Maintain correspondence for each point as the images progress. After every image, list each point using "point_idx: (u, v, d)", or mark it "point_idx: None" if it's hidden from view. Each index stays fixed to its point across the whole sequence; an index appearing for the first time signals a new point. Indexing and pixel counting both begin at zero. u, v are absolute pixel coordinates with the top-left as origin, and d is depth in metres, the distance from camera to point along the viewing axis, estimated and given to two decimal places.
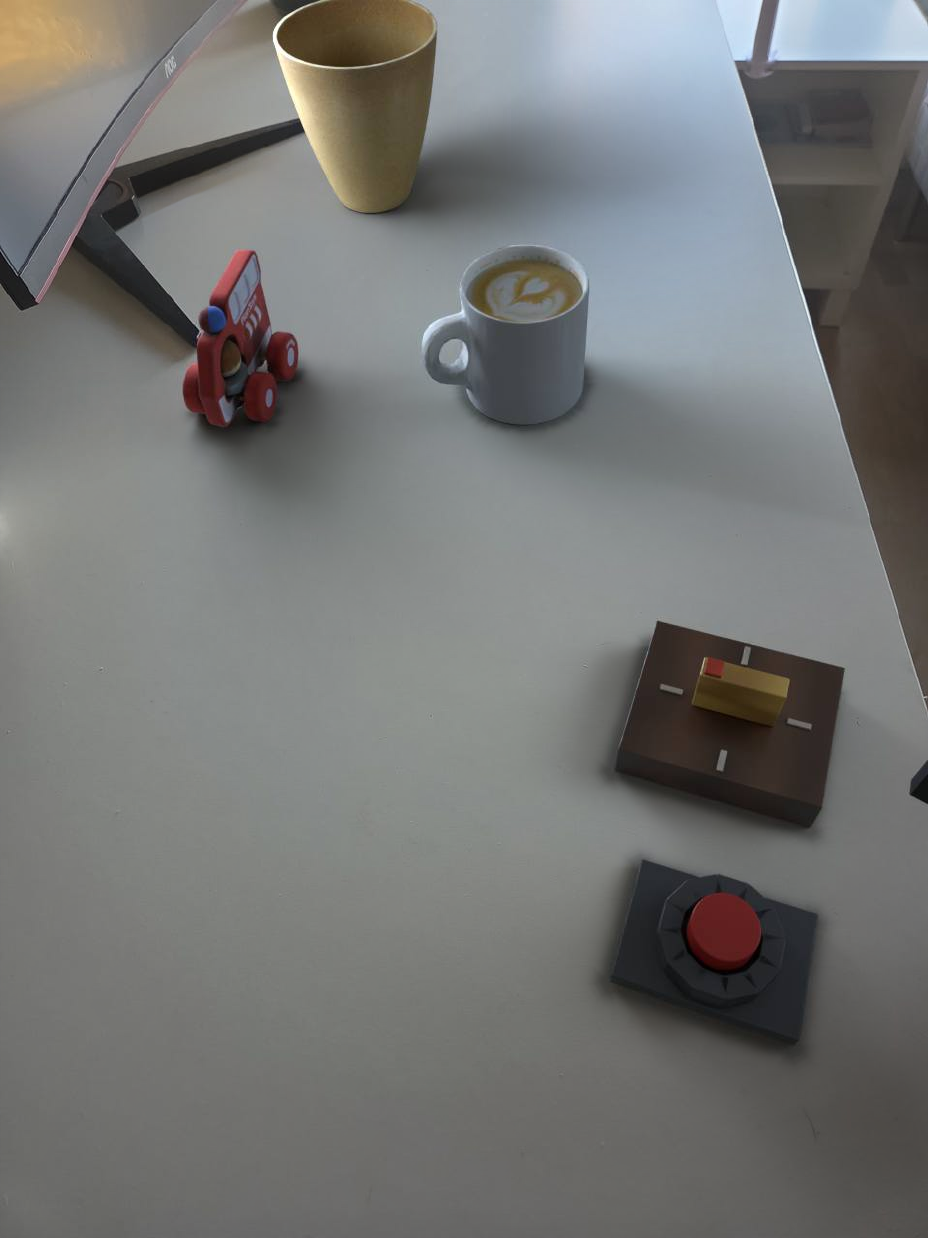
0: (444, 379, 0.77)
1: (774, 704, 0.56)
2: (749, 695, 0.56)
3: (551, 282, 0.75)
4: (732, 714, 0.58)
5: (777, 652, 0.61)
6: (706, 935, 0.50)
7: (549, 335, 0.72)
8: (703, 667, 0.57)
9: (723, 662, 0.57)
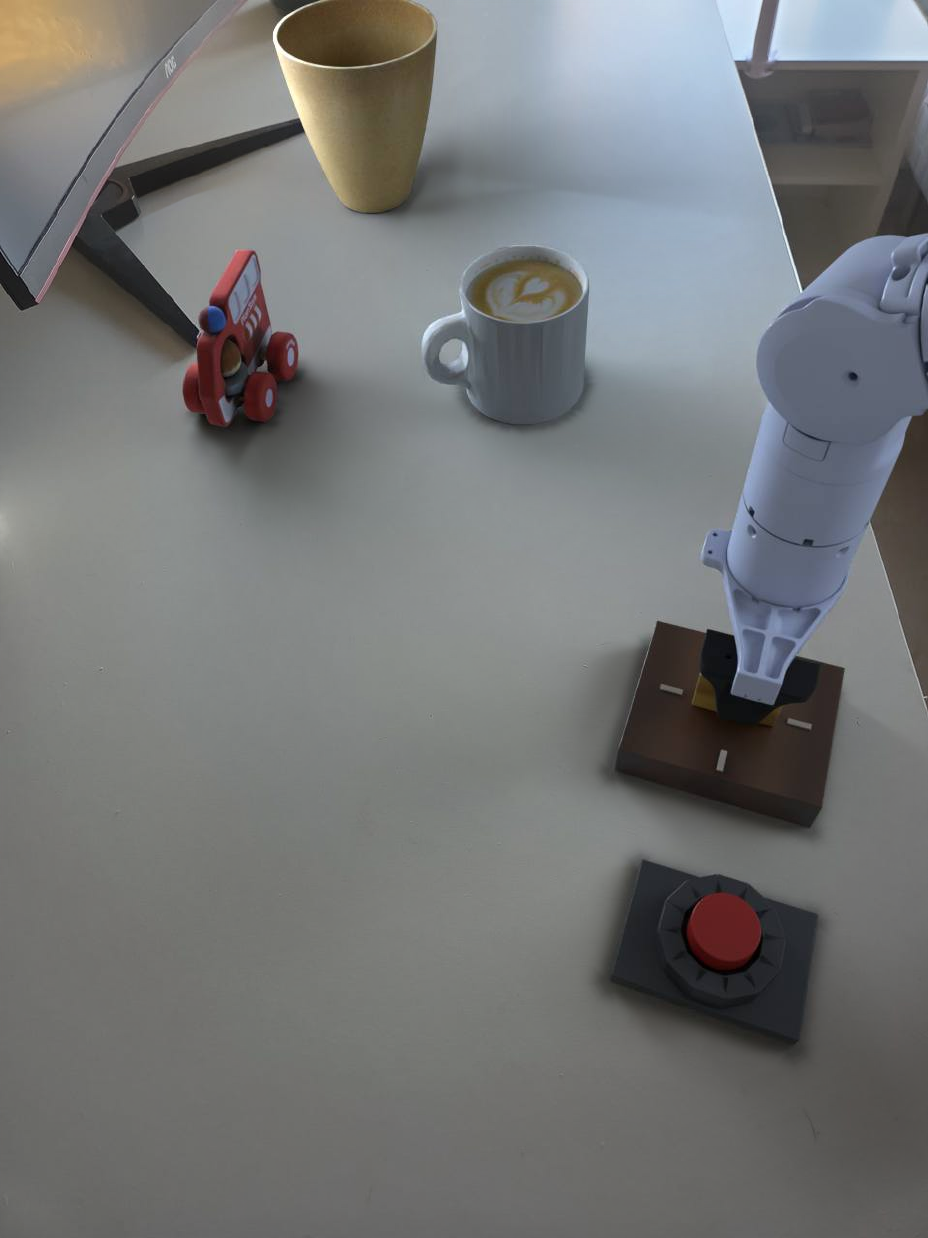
0: (444, 379, 0.77)
1: None
2: None
3: (551, 282, 0.75)
4: None
5: None
6: (706, 935, 0.50)
7: (549, 335, 0.72)
8: None
9: None
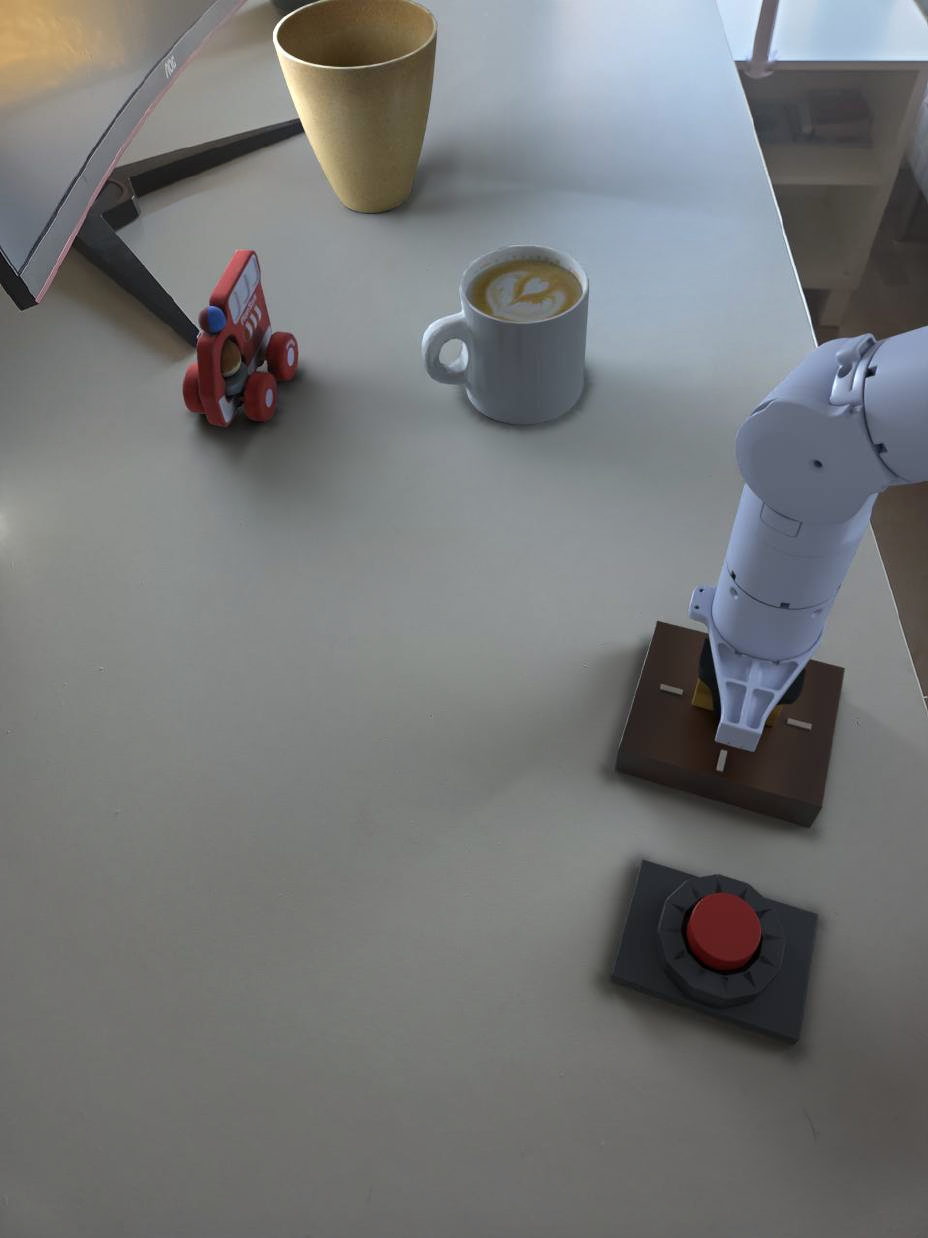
0: (444, 379, 0.77)
1: None
2: None
3: (551, 282, 0.75)
4: None
5: None
6: (706, 935, 0.50)
7: (549, 335, 0.72)
8: None
9: None
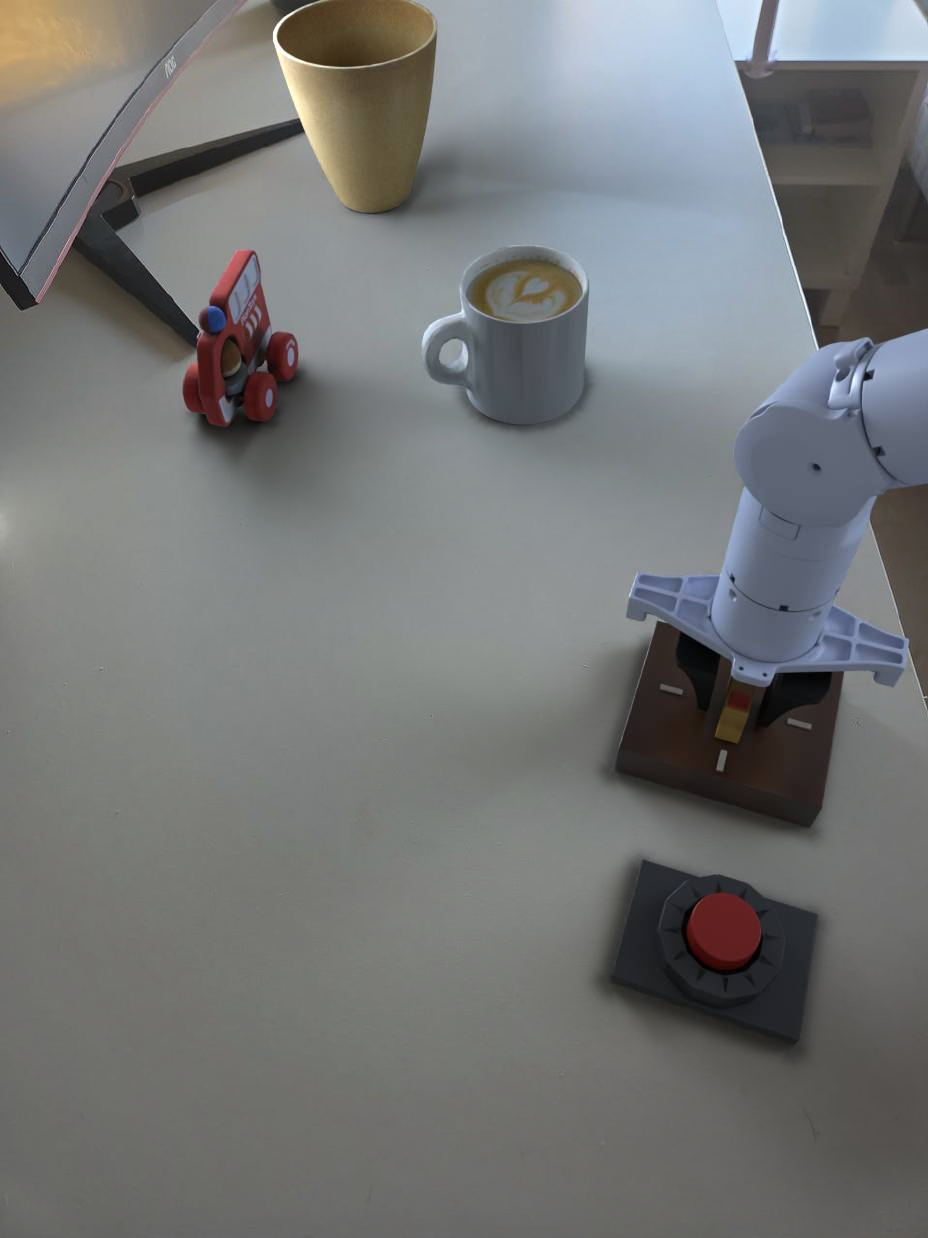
0: (444, 379, 0.77)
1: None
2: None
3: (551, 282, 0.75)
4: None
5: None
6: (706, 935, 0.50)
7: (549, 335, 0.72)
8: (738, 711, 0.55)
9: (733, 691, 0.55)
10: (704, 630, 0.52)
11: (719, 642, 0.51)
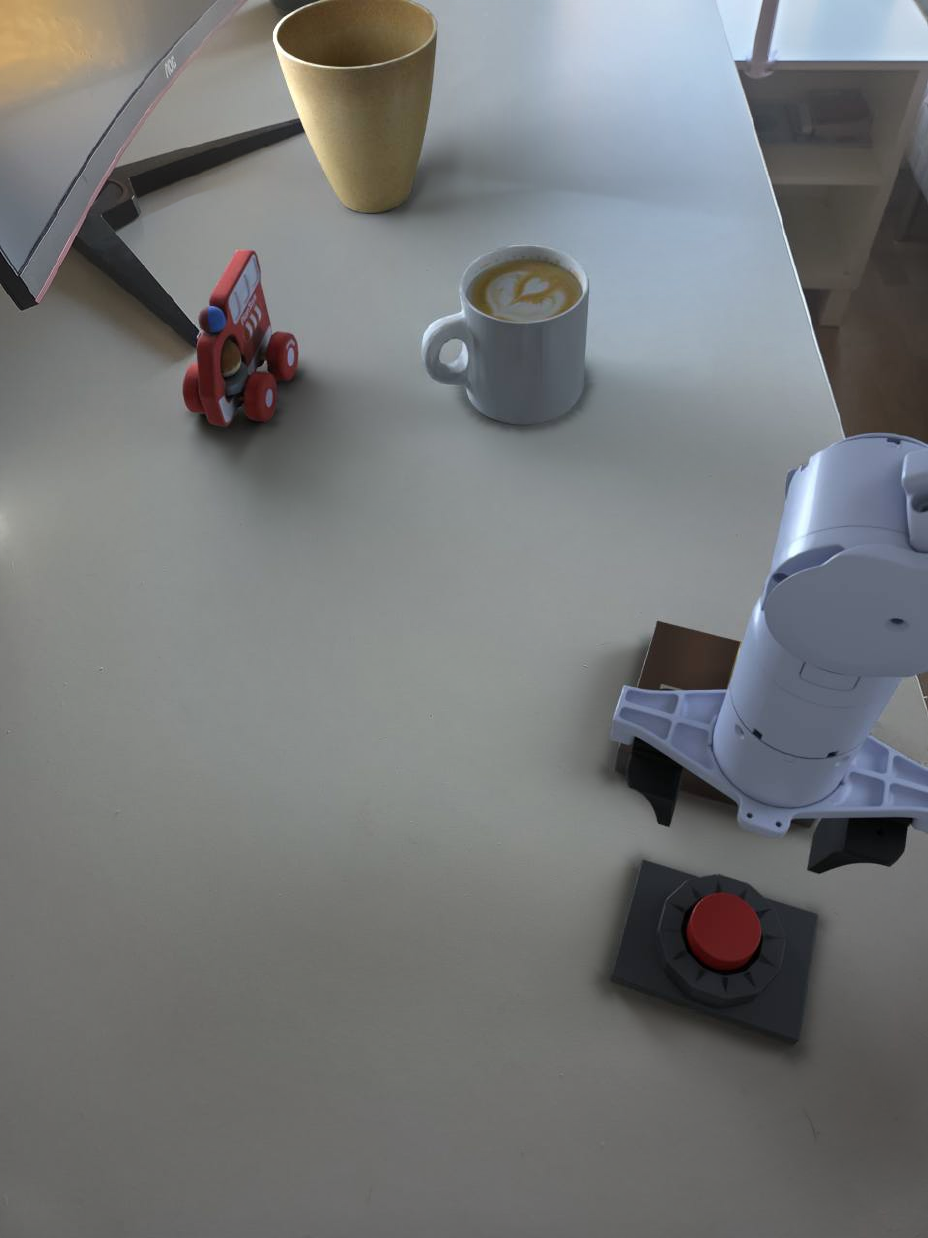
0: (444, 379, 0.77)
1: None
2: None
3: (551, 282, 0.75)
4: None
5: None
6: (706, 935, 0.50)
7: (549, 335, 0.72)
8: None
9: None
10: (704, 762, 0.42)
11: (722, 780, 0.41)
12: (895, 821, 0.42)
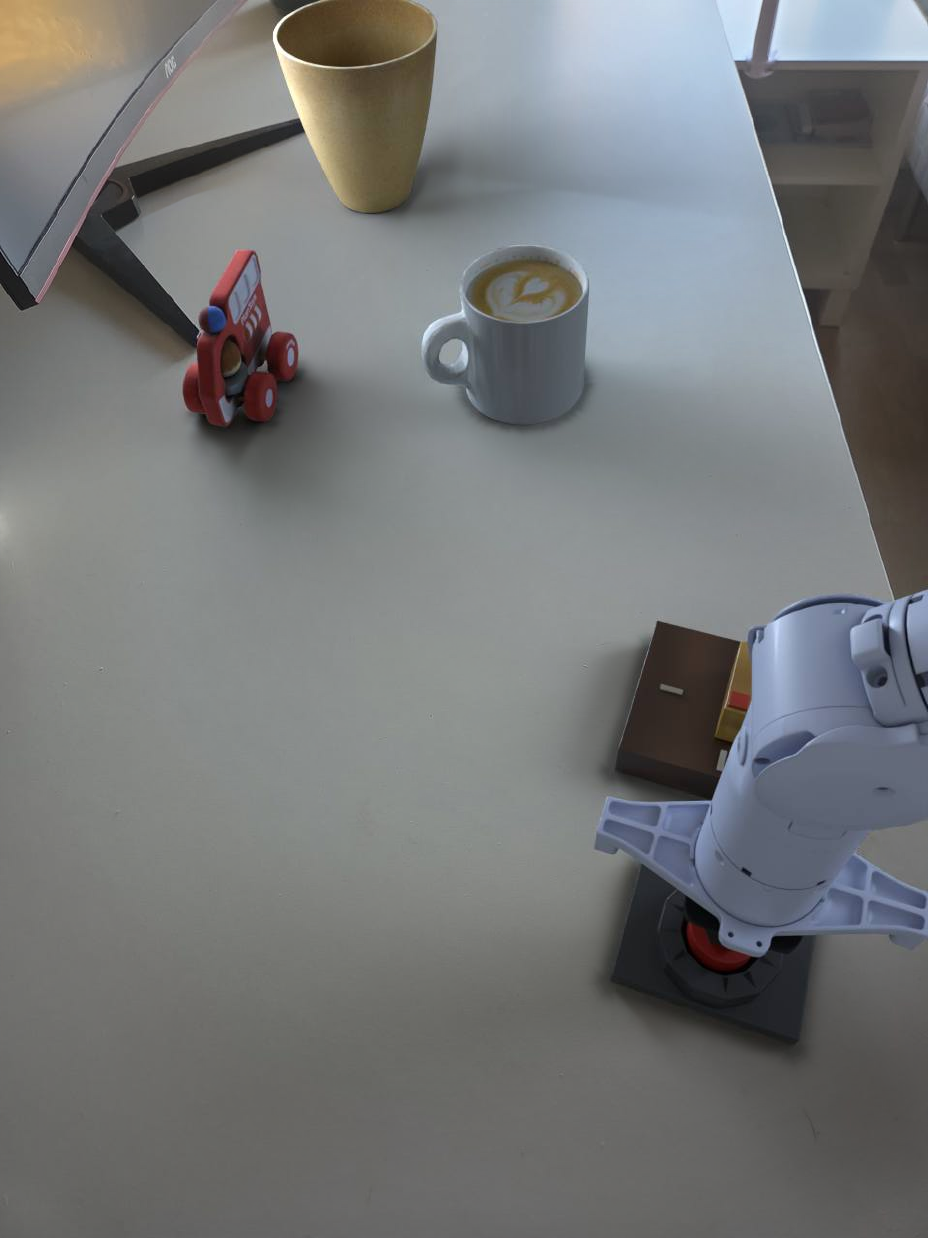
0: (444, 379, 0.77)
1: None
2: None
3: (551, 282, 0.75)
4: None
5: None
6: (705, 937, 0.50)
7: (549, 335, 0.72)
8: (738, 711, 0.55)
9: (733, 691, 0.55)
10: (686, 877, 0.43)
11: (704, 897, 0.42)
12: None
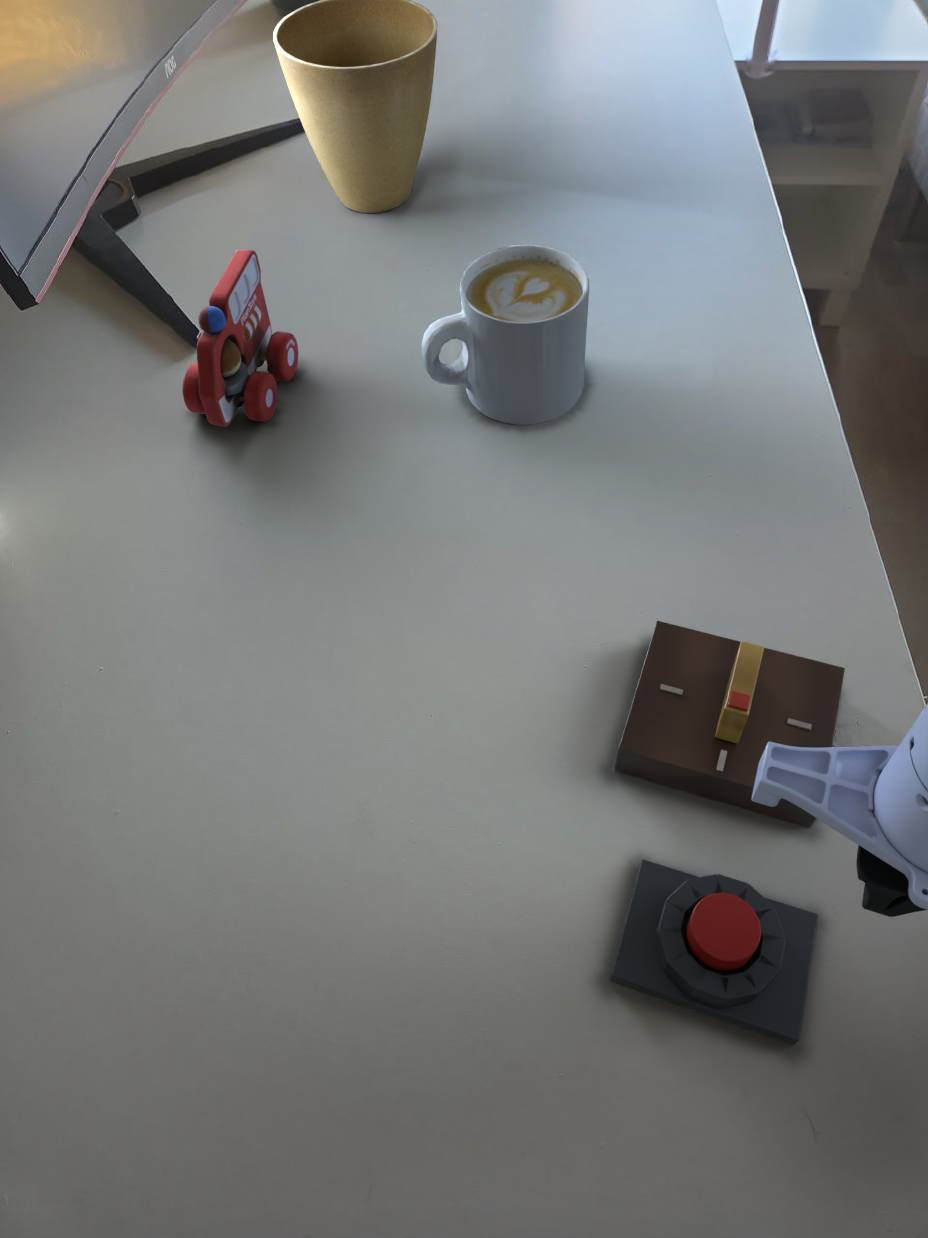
0: (444, 379, 0.77)
1: None
2: None
3: (551, 282, 0.75)
4: None
5: (777, 652, 0.61)
6: (706, 935, 0.50)
7: (549, 335, 0.72)
8: (738, 711, 0.55)
9: (733, 691, 0.55)
10: (865, 829, 0.38)
11: (890, 850, 0.37)
12: None
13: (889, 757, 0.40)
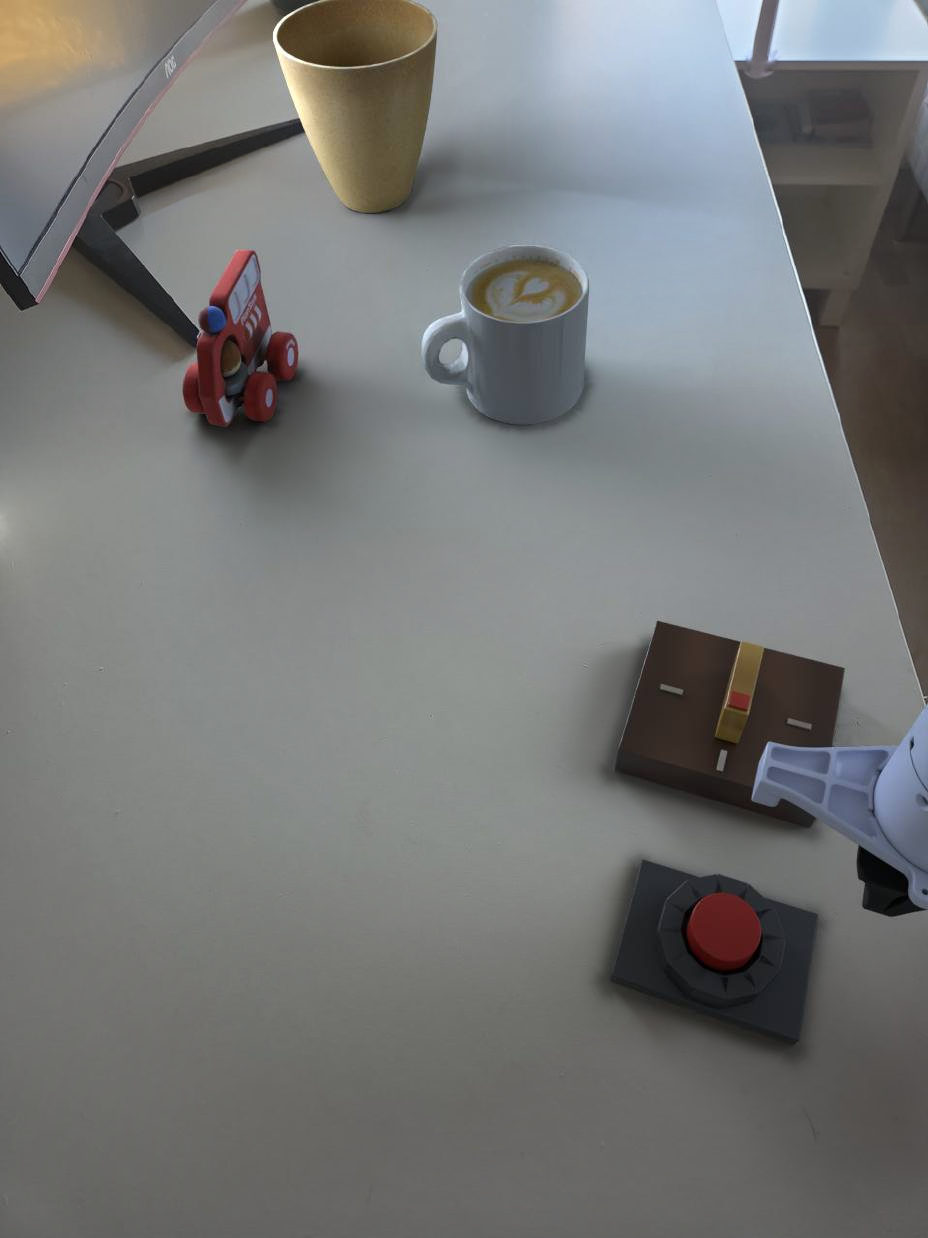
0: (444, 379, 0.77)
1: None
2: None
3: (551, 282, 0.75)
4: None
5: (777, 652, 0.61)
6: (706, 935, 0.50)
7: (549, 335, 0.72)
8: (738, 711, 0.55)
9: (733, 691, 0.55)
10: (865, 829, 0.38)
11: (890, 850, 0.37)
12: None
13: (889, 757, 0.40)
